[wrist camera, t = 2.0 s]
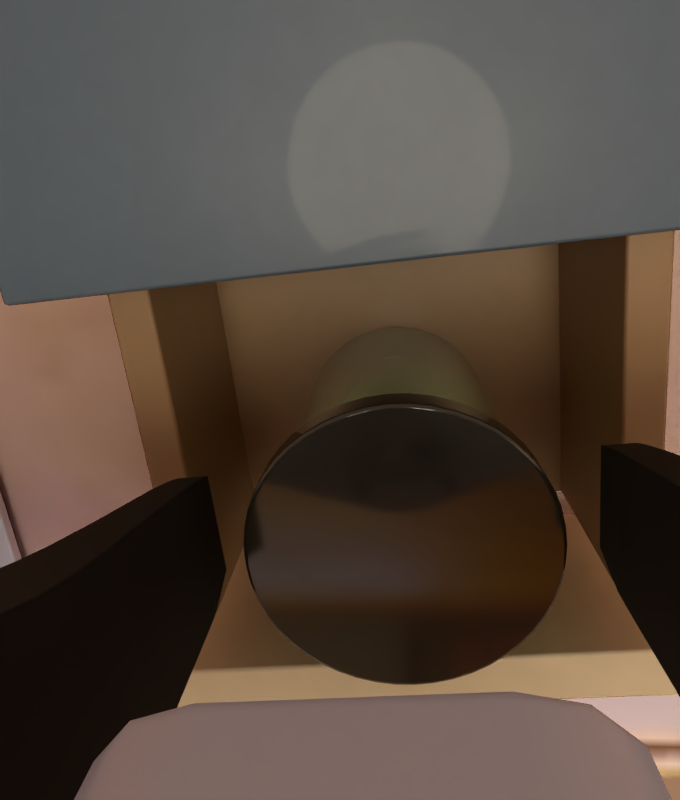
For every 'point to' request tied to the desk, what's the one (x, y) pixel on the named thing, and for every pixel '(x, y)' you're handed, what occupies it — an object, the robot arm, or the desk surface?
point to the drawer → (504, 385)
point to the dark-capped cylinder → (404, 519)
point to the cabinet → (323, 134)
